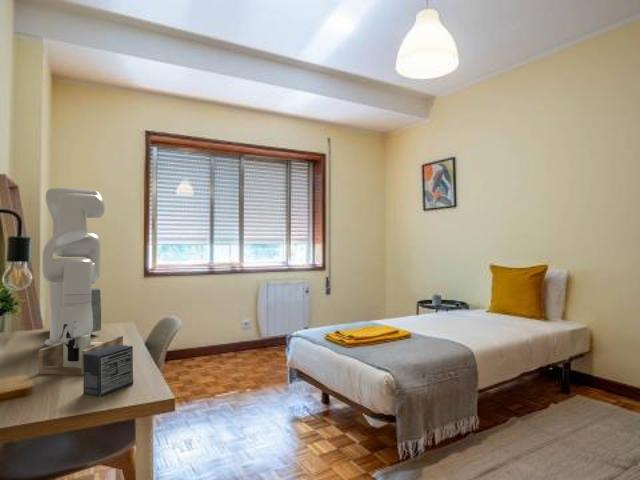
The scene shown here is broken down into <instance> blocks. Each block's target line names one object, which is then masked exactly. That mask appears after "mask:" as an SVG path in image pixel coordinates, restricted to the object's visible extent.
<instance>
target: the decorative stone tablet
mask: <svg viewBox="0 0 640 480" xmlns="http://www.w3.org/2000/svg"><path fill="white" fill-rule="evenodd" d="M101 292H102V291H101V288H100V287H98V288H94V287H93V288H91V305H92V313H93V329H92V333H95V332H100V331H101V330H102V299H101V298H102V296H101Z"/></svg>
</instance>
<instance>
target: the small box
mask: <svg viewBox="0 0 640 480" xmlns="http://www.w3.org/2000/svg"><path fill="white" fill-rule="evenodd" d="M133 349H134V348H133V345H127V344H126V345H125V344H123V345H114V346H110V347H106V348H103V349H99V350H95V351H92V352H88V353H85V354H83V372H84V374H83V375H82V376H83V390H82V391H83V395H87V396H91V397H92V396H93V397H96V398H102V397H103V396H106V395H108V394H112V393H115V392H116V391H118V390H121V389H124V388H127V387H129V386H132V385H134V370H133V369H134V365H133V364H134V362H133V361H134V360H133V358H134V357H133V352H134V351H133Z"/></svg>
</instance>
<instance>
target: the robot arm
mask: <svg viewBox="0 0 640 480" xmlns="http://www.w3.org/2000/svg"><path fill="white" fill-rule="evenodd" d="M45 202H46V203H45V204H46V205H47V210H48V211H49V214H50V215H51V218H52V236H51V238H49V240H48V241H47V242H46V244H45V245H44V248H43V250H42V276H43V278H44V280H45V281H46V282H48V285H49V297H50V298H49V299H50V300H49V301H50V302H49V303H50V305H49V308H50V309H49V338H48V339H46V340H44V345H45V346H48V347H49V346H52V345H55V344H58V343H63V344H65V345H66V348H68V361H78V360H79V348H77V346H78V337H80V336H83V335H92V334H93V332H92V329H93V313H92V305H91V289H92V284H93V285H94V284H96V283H98V281H99V279H100V275H101V240H100V238H99V236H98V235H97V234H95V233H92V232H91V233H90V232H88V227H87V219H88V218H89V219H100V218H102V217H104V213H105V201H104V199H103V196H102V195H101V193H100V192H99V191H97V190H93V189H82V188H73V187H51V188H49V189H47V190H46V193H45ZM53 255H54V256H56V257H59V258H54V257H53ZM71 340H74V341H71Z"/></svg>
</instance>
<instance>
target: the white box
mask: <svg viewBox="0 0 640 480" xmlns="http://www.w3.org/2000/svg"><path fill="white" fill-rule="evenodd" d="M91 335H92V334H91ZM91 335H83V336H80V337H78V346H77V348H79V360H78V361H68V348H66V345H65V344H63V366H62V367H81V366H82V351H83V350H85V349H88V348H90V343H91V342H92V341H91V340H92V339H91ZM71 341H74V340H71Z"/></svg>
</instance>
